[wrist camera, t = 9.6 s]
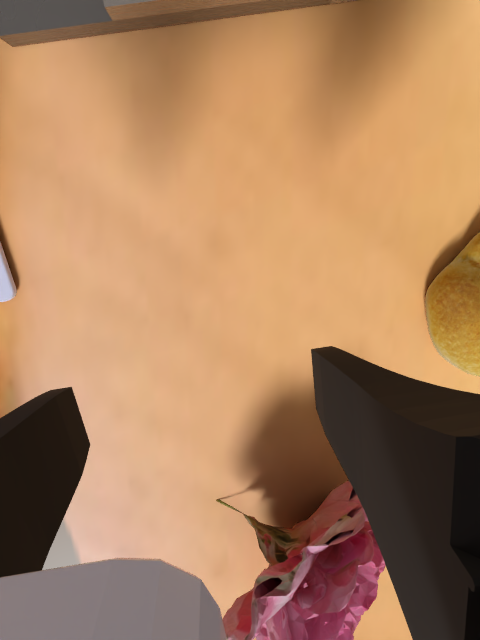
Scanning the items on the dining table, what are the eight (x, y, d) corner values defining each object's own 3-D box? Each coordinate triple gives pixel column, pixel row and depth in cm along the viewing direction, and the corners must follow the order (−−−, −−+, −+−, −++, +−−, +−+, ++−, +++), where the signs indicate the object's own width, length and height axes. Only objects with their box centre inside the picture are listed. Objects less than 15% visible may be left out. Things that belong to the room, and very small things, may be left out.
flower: (366, 462, 29) (444, 628, 23) (248, 509, 30) (292, 675, 25) (338, 424, 20) (455, 684, 14) (172, 495, 21) (213, 752, 15)
